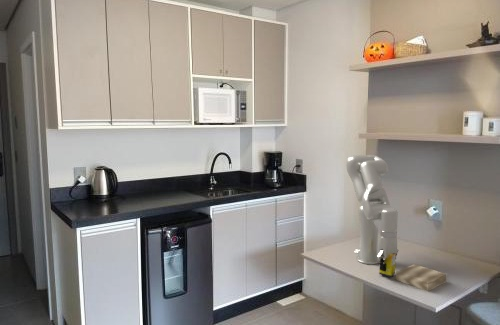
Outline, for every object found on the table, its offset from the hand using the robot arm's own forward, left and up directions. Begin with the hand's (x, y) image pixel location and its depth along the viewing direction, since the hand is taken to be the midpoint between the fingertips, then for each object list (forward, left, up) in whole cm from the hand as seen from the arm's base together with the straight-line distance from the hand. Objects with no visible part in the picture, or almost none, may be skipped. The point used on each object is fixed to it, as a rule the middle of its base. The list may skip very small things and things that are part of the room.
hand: (387, 268), depth 188 cm
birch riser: (+14, +7, -4) cm, 16 cm away
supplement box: (0, 0, -3) cm, 3 cm away
